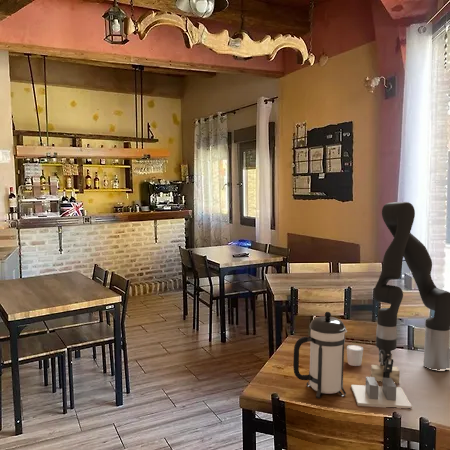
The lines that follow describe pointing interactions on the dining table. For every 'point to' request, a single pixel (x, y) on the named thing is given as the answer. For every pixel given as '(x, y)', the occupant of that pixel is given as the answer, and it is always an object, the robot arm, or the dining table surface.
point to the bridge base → (380, 394)
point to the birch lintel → (378, 373)
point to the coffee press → (324, 355)
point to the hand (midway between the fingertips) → (384, 377)
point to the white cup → (354, 355)
